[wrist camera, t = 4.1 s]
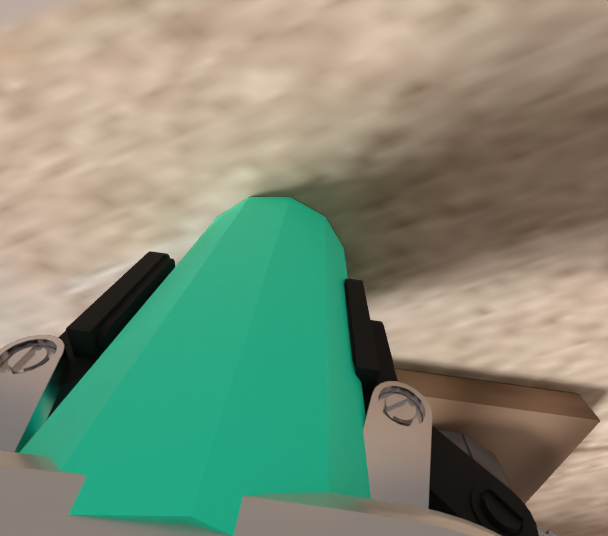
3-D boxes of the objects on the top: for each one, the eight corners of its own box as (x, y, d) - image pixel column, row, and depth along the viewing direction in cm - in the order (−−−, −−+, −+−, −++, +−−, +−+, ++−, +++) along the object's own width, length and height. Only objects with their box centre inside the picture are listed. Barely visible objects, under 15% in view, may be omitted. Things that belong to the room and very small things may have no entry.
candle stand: (578, 394, 16) (659, 490, 12) (472, 525, 23) (502, 614, 19) (304, 356, 16) (297, 442, 12) (279, 499, 23) (269, 584, 19)
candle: (267, 160, 12) (-274, 830, 1) (375, 265, 13) (562, 893, 3) (176, 263, 14) (-279, 798, 3) (279, 340, 16) (191, 846, 5)
